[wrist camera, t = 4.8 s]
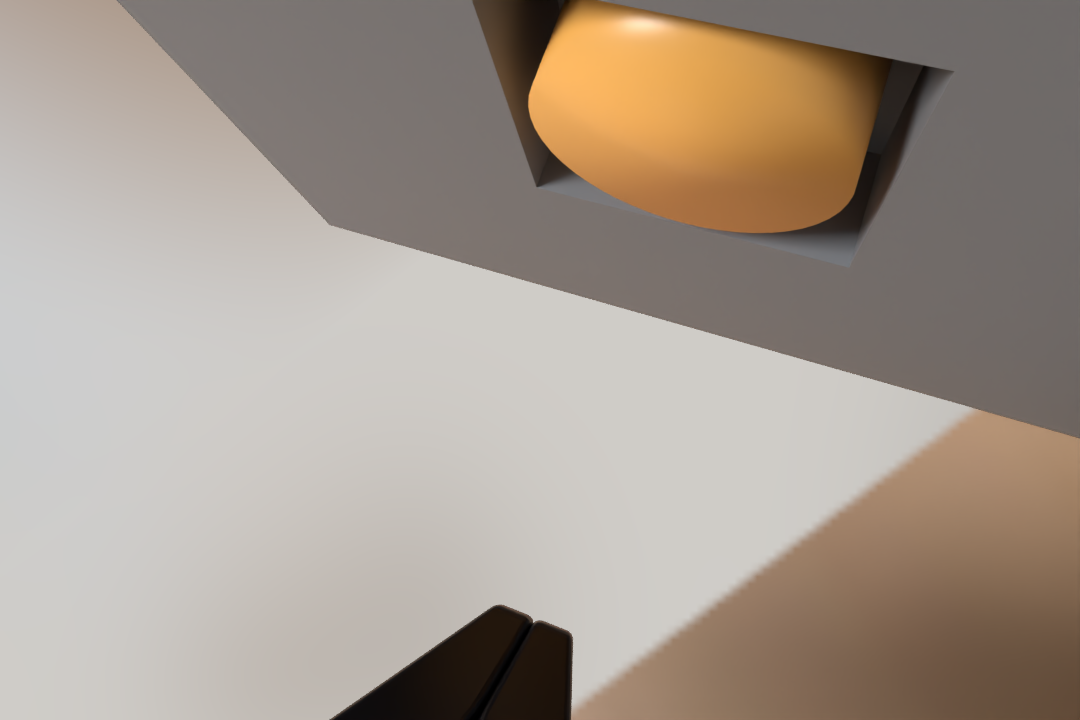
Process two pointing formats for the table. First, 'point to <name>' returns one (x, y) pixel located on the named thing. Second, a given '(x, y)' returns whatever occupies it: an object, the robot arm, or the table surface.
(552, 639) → the robot arm
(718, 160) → the orange button
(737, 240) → the console
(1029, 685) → the table surface
